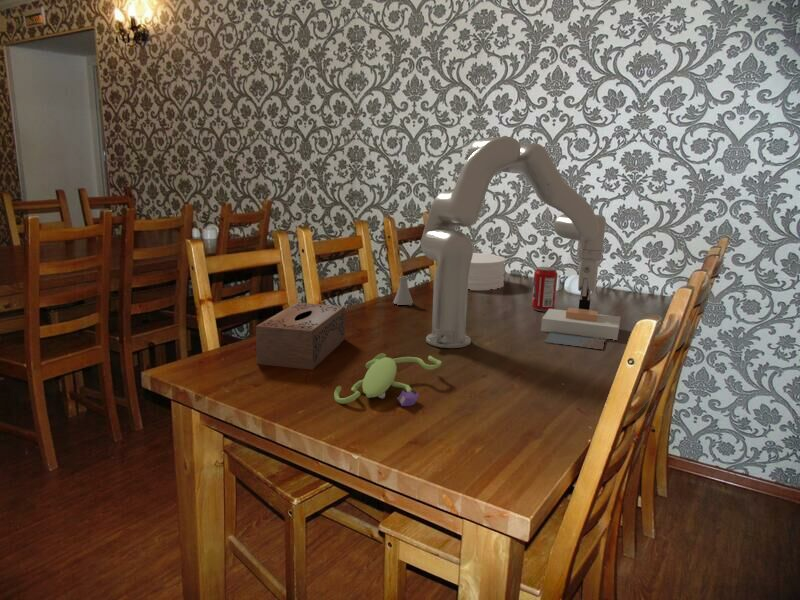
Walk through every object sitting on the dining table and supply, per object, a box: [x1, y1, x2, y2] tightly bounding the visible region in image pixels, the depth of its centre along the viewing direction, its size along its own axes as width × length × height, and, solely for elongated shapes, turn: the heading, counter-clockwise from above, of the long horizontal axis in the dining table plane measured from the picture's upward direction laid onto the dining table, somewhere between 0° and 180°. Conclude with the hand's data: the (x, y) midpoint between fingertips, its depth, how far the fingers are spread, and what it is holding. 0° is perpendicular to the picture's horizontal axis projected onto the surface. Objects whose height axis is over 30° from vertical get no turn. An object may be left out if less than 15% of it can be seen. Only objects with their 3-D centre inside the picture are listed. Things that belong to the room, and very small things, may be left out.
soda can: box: [531, 266, 558, 313], centre depth 200 cm, size 8×8×15 cm
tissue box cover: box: [255, 302, 346, 370], centre depth 150 cm, size 26×14×10 cm, turn 168°
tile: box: [566, 307, 599, 322], centre depth 176 cm, size 6×9×2 cm, turn 67°
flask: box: [392, 275, 414, 306], centre depth 204 cm, size 7×7×10 cm
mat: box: [544, 332, 607, 348], centre depth 166 cm, size 12×16×1 cm
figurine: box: [333, 352, 442, 407], centre depth 128 cm, size 18×27×6 cm
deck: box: [540, 308, 622, 341], centre depth 177 cm, size 14×22×4 cm, turn 67°
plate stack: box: [468, 252, 506, 291], centre depth 244 cm, size 28×28×12 cm
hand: (583, 311), depth 182 cm, fingers closed
